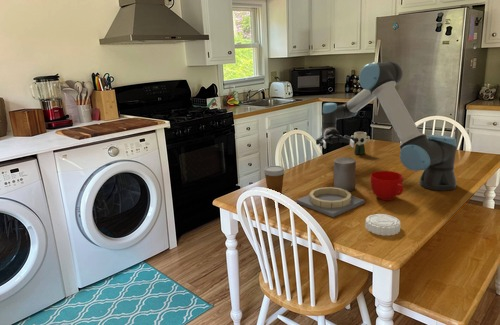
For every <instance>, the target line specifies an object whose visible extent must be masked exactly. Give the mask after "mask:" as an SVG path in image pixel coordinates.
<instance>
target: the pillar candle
mask: <svg viewBox="0 0 500 325" xmlns="http://www.w3.org/2000/svg"><path fill="white" fill-rule="evenodd" d="M356 163H357V162H356V159H354V158H352V157H348V156H347V157H344V156H343V157H338V158H335V159H333V187H334V188H341V189H344V190H347V191H348V192H349V193H351V192H353V191H355V190H356V171H357V170H356V165H357V164H356Z"/></svg>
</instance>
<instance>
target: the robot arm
mask: <svg viewBox="0 0 500 325" xmlns="http://www.w3.org/2000/svg"><path fill="white" fill-rule="evenodd" d="M403 76H404V71H403V68H402V66H401V64H398V63H397V62H394V61H383V62H372V63H371V62H370V63H367V64H365V65H363V67H362V69H361V70H360V71H359V76H358V79H359V85H360V86H361V88H362V90H361V91H359V92H357V94H356V95H354V96H353V97H352V98H351V99H349V100H348V101H347V102H345V103H343V104H340V105H338V104H337V103H336V102H326V103H323V105H322V111H321V112H322V126H321V128H320V129H321V134H322V135H320V137H319V136H318V138H317V139H316V140H315V145H316V146H317V145H319V147H323V148H324V149H326V148H327V144H337V143H346V144H349V146H351V148H352V149H355V145H356V143H357V138H354V137H351V136H350V135H347V134H344V136H343V135H341V134H340V132H339V131H338V130H337V120H340V119H341V120H342V119H348V118H352V117H356V116H357V114H358V112H359V111H360V110H361V109H362V108H364V107H365V106H367V105H368V104H369V103H371V102H372V101H374V100H375V99H377V100H378V102H379V103H380V105H381V107H382V109H383V111H384V113H385V115H386V117H387V119H388V120H389V122H390V124H391V125H392V128H393V129H394V131H395V133H396V135H397V137H398V139H399V141H400V145H399V148H400V151H399V160H400V163H401V164H402V165H403V166H404V168H406V169H408V170H409V171H411V172H418V171H422V174H421V176H420V178H419V185H420V186H421V187H423V188H425V189H428V190H433V191H441V192H443V191H445V192H446V190H447V191H452V189H453V190H455V189H456V188H457V179H456V175H455V171H454V167H455V160H456V150H457V147H458V146H457V139H456V138H455V137H453V136H446V135H440V134H429V135H426V134H425V133H423V132H420V131H419V128H418V127H417V125H416V123H415V121H414V119H413V118H412V116H411V114H410V112H409V110H408V109H407V107H406V106H405V103H404V102H403V100H402V97H400V95H399V92H398V90H397V89H396V86H397V85H399V84H400V82H401V81H402V79H403Z"/></svg>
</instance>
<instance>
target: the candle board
mask: <svg viewBox="0 0 500 325" xmlns="http://www.w3.org/2000/svg"><path fill="white" fill-rule="evenodd" d="M295 202H297V203H296V204H298V203H299V204H298V205H301V206H303V207H306V208H309V209H310V210H313V211H315V212H318V213H321V214H323V215H326V216H327V217H328V216H329V217H330V218H334V217H337V216H339V215H341V214H345V212H347V211H350V210H353V209H355V208H357V207H359V206H362V205H363V204H365V199H363V198H360V197H357V196H353V195H352V194H351V192H348V191H347V190H344V189H341V188H334V186H328V187H327V186H326V187H318V188H316V189H311V190H310V192H309V193H308V195H305V196H302V197H300V198H296V200H295Z"/></svg>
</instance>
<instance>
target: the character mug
mask: <svg viewBox="0 0 500 325" xmlns="http://www.w3.org/2000/svg"><path fill="white" fill-rule="evenodd" d="M367 134H368V133H367V132H366V131H365V132H364V131H355V132H354V133H353V135H351V136H350V137H354V138H357V143H356V144H355V145H354V154H355V155H365V153H366V148H365V145H366V143H369V142H370V141H371V140H370V138H371V137H370V136H369V135H367Z"/></svg>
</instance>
